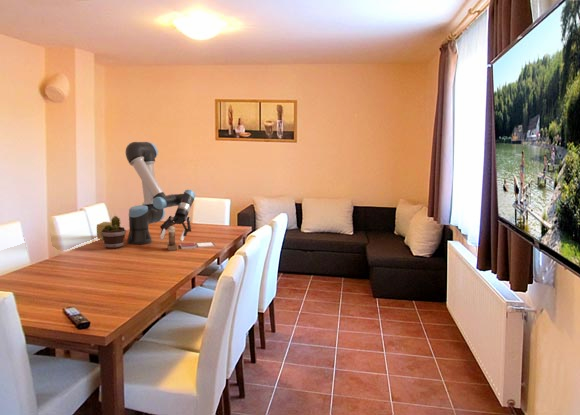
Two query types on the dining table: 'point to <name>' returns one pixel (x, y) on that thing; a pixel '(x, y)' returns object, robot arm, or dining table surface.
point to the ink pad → (187, 245)
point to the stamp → (171, 239)
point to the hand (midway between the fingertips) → (171, 239)
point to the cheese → (101, 226)
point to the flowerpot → (113, 234)
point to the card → (205, 244)
